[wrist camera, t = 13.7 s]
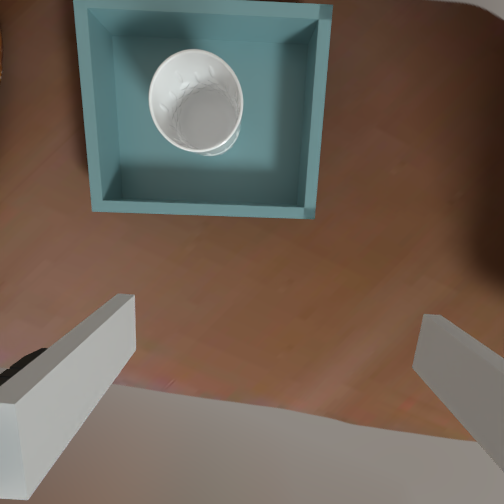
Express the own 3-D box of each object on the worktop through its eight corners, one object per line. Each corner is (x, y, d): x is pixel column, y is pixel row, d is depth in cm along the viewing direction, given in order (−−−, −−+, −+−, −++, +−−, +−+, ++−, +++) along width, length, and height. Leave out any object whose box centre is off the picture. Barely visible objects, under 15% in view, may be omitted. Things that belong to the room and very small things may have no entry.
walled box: (317, 37, 33) (332, 4, 27) (304, 213, 37) (314, 219, 31) (104, 26, 32) (72, -9, 26) (117, 207, 37) (92, 211, 31)
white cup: (178, 86, 33) (148, 44, 23) (247, 92, 33) (246, 53, 23) (176, 158, 34) (148, 147, 25) (242, 164, 35) (239, 155, 25)
